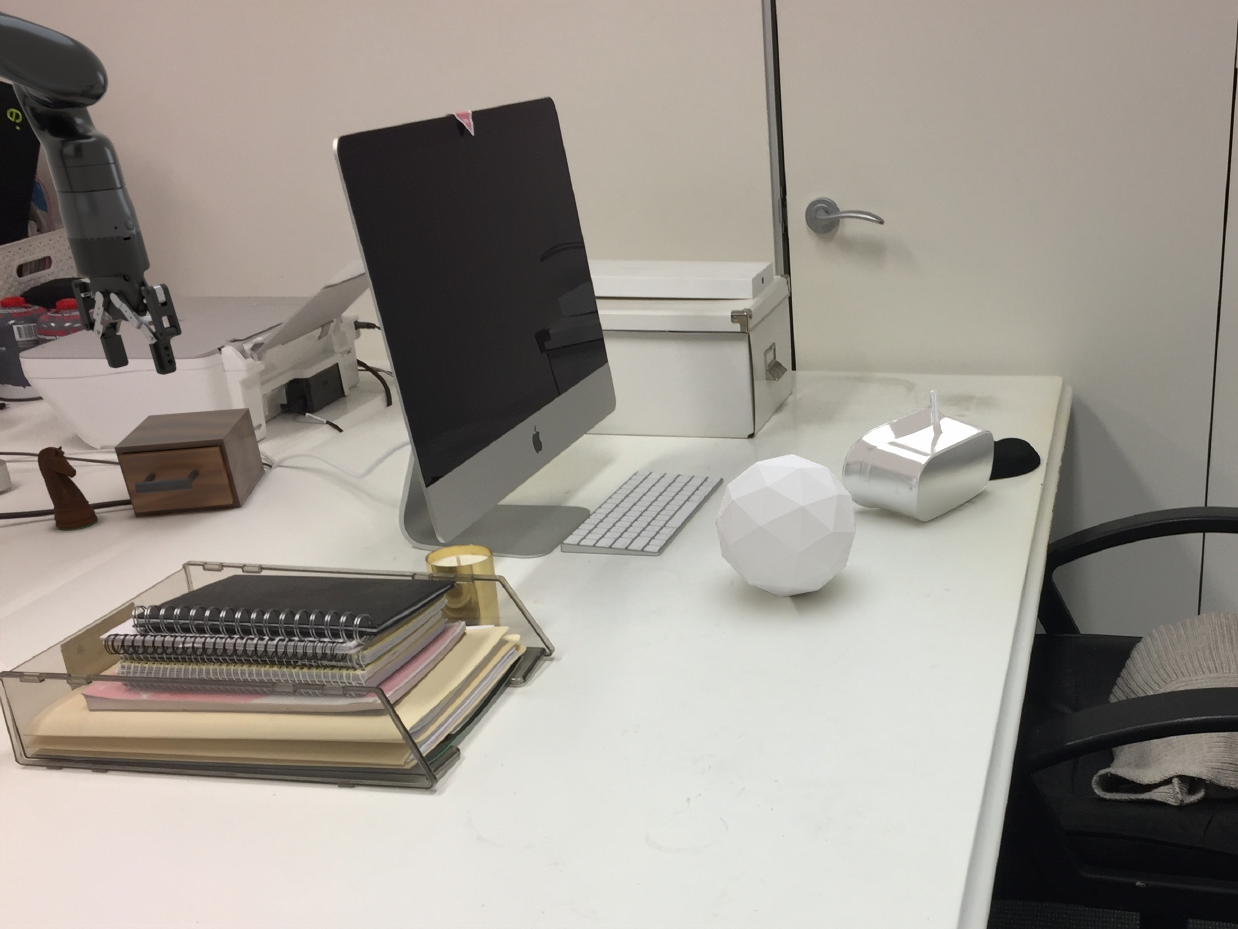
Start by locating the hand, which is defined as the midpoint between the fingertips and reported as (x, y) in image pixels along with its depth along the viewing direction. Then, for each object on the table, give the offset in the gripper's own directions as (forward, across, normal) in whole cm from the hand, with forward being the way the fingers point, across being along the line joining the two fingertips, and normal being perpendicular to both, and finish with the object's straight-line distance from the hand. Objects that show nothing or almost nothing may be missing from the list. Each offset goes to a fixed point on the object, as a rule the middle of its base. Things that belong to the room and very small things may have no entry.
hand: (143, 370), depth 150 cm
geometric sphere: (+18, +83, +9) cm, 86 cm away
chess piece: (+19, -10, -8) cm, 22 cm away
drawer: (+17, -1, +3) cm, 18 cm away
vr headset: (+18, +86, +39) cm, 96 cm away
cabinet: (+18, -4, +6) cm, 20 cm away
